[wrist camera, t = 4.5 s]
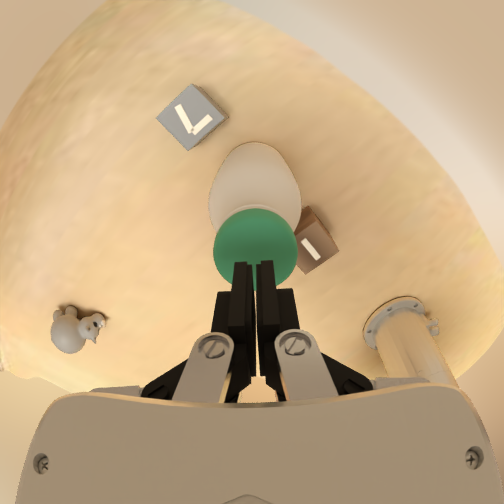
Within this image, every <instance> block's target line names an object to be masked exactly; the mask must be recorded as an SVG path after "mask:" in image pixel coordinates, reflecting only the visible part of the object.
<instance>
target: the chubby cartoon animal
mask: <svg viewBox="0 0 504 504" xmlns="http://www.w3.org/2000/svg"><path fill="white" fill-rule="evenodd" d="M53 320H54V322H53V324H52V327H51V340H52V342H53V343H54V344H55V346H56V347H57V348H58V349H59V350H60V351H62V352H64V353H68V354H72V353H76V352H78V351H80V350H81V349H82V348H83V346H84V344H85V341H86V339H91V340H92V341H93V342H94V343H96V337H97V336H98V334H99V330H100V328H101V327H102V326H103V328H104V327H105V325H106V323H105V319H104V317H103V316H102V315H101V314H99V313H95V314H93V315H92V316H90V317H84V318H82V319H81V320H80V319H77V309H76V308H75V307H73V306H68V307H67V308H66V311H65V314H64V312H63V311H61V310H56V311H55V312H54V314H53Z"/></svg>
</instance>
